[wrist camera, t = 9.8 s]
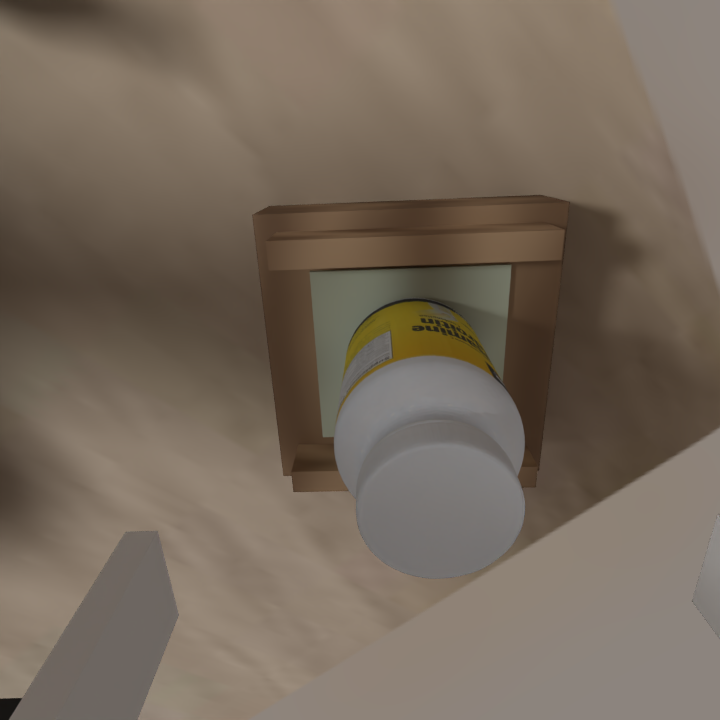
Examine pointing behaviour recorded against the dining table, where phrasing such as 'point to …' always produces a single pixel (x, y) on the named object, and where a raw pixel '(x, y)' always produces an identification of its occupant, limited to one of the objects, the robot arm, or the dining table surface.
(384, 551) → the pill bottle
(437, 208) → the wooden tray
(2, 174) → the dining table surface
